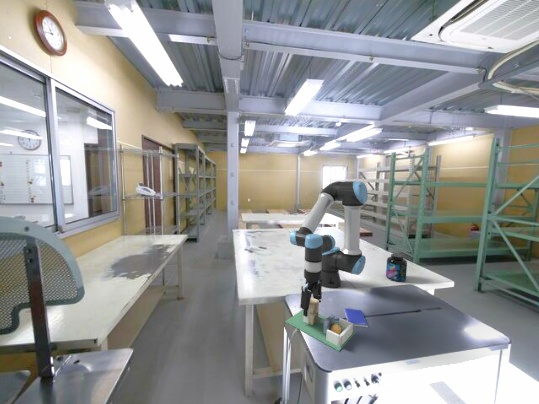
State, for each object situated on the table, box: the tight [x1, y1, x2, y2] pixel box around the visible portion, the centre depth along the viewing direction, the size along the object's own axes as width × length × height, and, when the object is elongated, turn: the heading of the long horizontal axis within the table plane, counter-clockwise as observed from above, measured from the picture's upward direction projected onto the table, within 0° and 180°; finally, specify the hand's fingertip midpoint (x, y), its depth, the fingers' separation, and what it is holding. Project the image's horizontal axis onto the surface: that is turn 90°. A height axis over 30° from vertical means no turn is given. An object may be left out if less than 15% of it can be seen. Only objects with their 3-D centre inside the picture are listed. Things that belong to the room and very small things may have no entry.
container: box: [385, 253, 408, 283], centre depth 155 cm, size 12×12×17 cm
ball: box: [331, 324, 341, 335], centre depth 96 cm, size 4×4×4 cm
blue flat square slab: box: [344, 308, 369, 328], centre depth 108 cm, size 2×8×12 cm
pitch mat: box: [284, 309, 357, 352], centre depth 101 cm, size 16×26×1 cm, turn 47°
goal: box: [326, 317, 355, 347], centre depth 95 cm, size 12×6×4 cm, turn 137°
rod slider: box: [309, 296, 336, 334], centre depth 101 cm, size 7×12×10 cm, turn 47°
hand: (310, 318), depth 104 cm, fingers open, 7 cm apart
